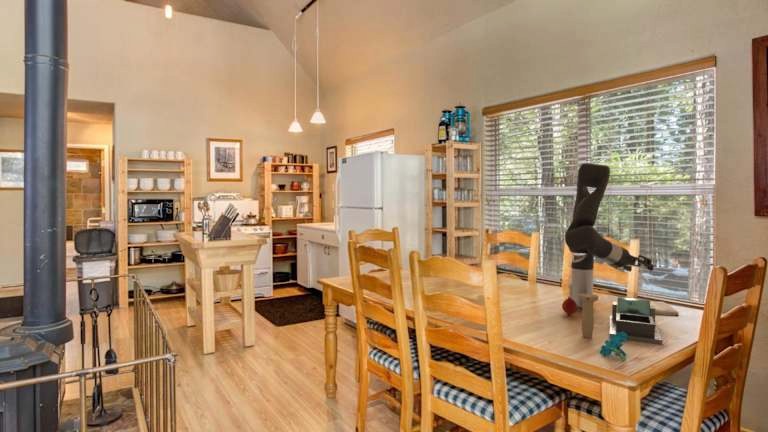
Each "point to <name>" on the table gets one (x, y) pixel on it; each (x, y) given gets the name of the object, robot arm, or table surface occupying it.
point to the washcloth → (663, 309)
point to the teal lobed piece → (615, 345)
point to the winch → (635, 320)
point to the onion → (569, 306)
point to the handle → (587, 314)
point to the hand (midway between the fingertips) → (641, 268)
